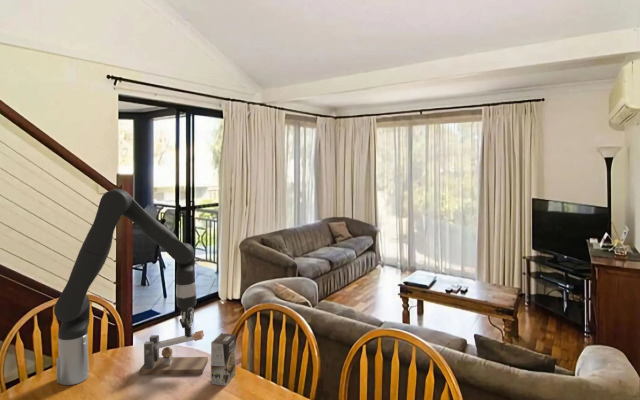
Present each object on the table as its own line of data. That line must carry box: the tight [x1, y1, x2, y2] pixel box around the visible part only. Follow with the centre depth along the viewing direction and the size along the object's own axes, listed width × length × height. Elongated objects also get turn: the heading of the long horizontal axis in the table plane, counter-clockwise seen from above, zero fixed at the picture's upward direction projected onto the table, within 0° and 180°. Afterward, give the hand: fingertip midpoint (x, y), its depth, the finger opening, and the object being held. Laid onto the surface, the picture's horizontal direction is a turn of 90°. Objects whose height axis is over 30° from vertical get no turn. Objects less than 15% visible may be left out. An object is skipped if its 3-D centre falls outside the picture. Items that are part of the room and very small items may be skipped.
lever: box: [154, 330, 205, 350], centre depth 152 cm, size 22×4×2 cm, turn 93°
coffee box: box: [210, 332, 237, 387], centre depth 145 cm, size 9×6×16 cm
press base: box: [138, 334, 209, 376], centre depth 152 cm, size 24×10×12 cm, turn 94°
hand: (188, 335), depth 152 cm, fingers closed
